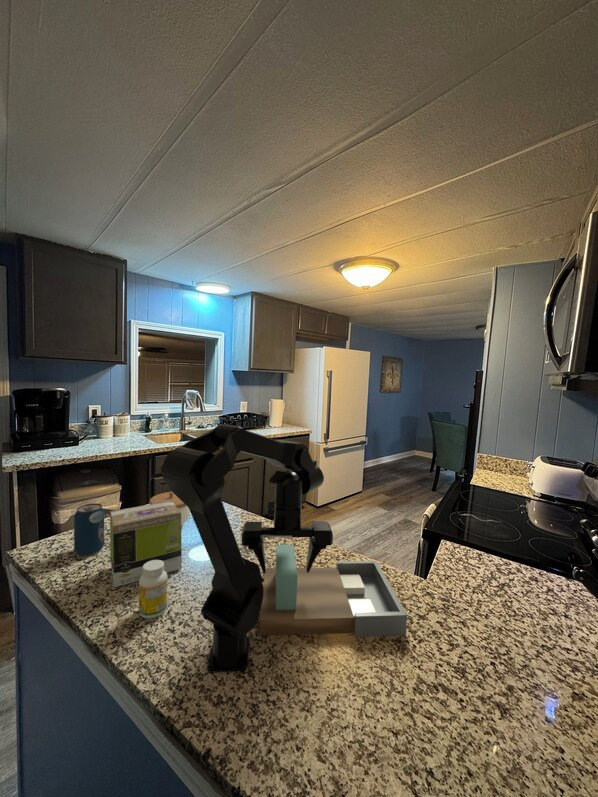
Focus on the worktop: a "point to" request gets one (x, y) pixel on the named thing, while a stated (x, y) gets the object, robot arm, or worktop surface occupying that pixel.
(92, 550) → the soda can
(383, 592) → the tray
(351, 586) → the tile
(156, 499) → the lidded bowl
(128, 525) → the tea box
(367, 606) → the tile
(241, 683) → the worktop surface
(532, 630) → the worktop surface
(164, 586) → the supplement bottle
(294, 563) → the tapered teal post
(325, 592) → the board
